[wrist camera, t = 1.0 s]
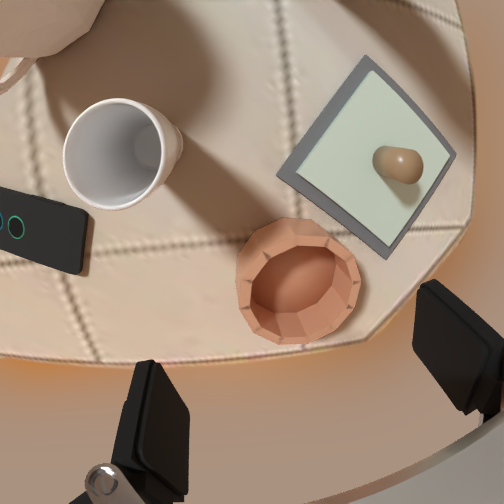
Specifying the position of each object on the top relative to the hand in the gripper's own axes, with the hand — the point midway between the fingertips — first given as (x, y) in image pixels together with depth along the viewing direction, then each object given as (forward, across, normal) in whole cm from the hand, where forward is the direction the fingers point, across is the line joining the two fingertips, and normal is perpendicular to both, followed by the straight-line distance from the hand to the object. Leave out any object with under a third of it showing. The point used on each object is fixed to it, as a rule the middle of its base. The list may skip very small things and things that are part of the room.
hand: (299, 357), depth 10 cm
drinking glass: (+24, +7, -8) cm, 27 cm away
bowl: (+24, -3, +10) cm, 26 cm away
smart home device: (+25, +28, -6) cm, 37 cm away
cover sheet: (+24, -17, -1) cm, 29 cm away
